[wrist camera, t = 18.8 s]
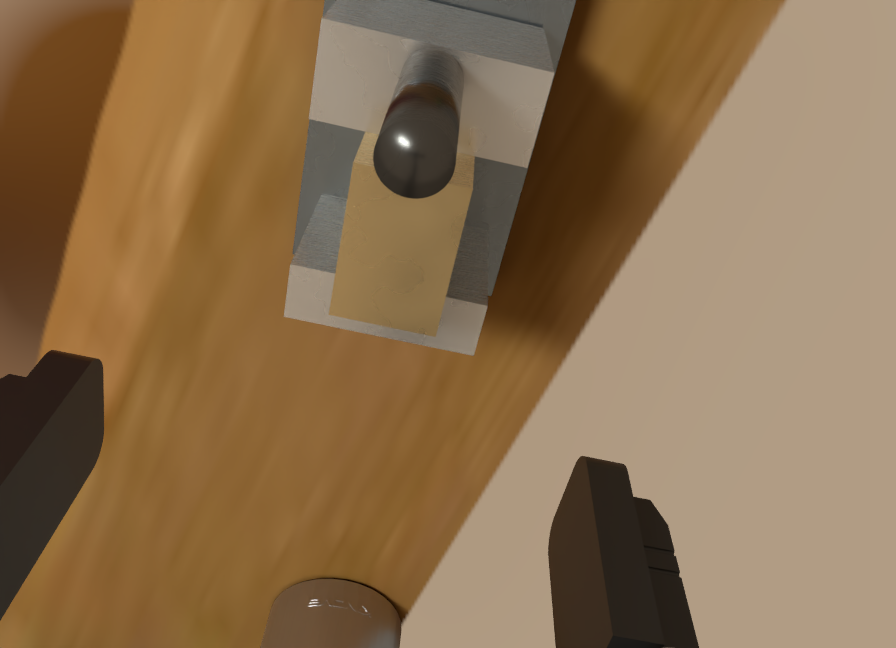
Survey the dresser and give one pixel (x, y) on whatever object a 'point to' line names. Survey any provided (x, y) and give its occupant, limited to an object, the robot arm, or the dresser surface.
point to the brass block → (398, 248)
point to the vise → (484, 227)
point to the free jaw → (431, 86)
